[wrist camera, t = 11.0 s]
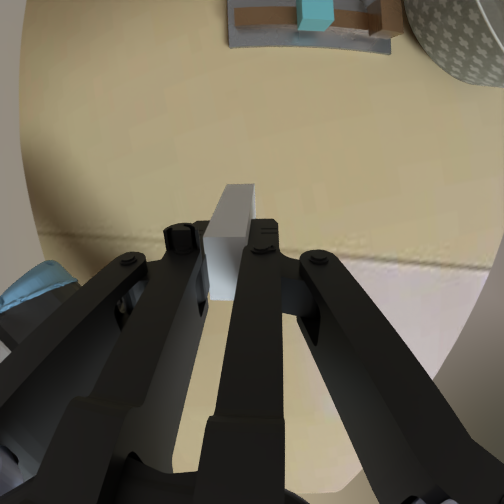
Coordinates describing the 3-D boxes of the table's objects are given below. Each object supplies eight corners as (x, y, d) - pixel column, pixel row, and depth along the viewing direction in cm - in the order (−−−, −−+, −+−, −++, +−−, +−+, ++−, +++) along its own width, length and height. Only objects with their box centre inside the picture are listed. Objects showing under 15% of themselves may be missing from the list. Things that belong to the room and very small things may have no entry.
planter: (514, 77, 29) (597, 92, 13) (423, 94, 34) (508, 106, 18) (473, -32, 21) (545, -58, 5) (372, -31, 26) (428, -87, 10)
